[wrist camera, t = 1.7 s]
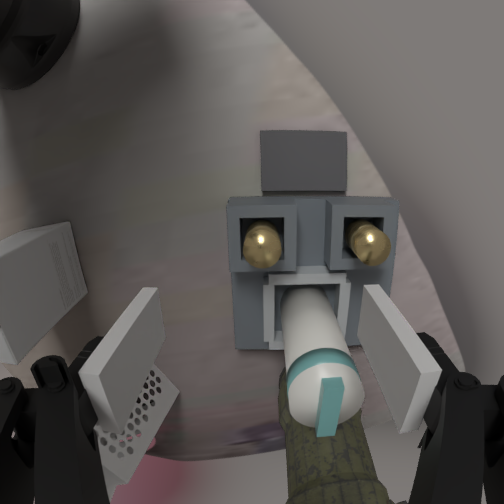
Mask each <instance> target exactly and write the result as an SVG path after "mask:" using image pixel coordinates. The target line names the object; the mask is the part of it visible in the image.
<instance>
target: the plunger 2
mask: <svg viewBox="0 0 504 504" xmlns="http://www.w3.org/2000/svg"><path fill="white" fill-rule="evenodd" d="M345 241H346V243H347V245H348V246H349V247H350V248H351V249H352V251H353V252H354V253H355V254H356V255H357V257H358V258H359V259H360V260H361V261H362V262H363V263H364V264H366V265H368V266H377V265H379V264H381V263H383V262H384V261H385V260H386V259H387V258H388V256H389V254H390V251H391V242H390V239H389V238H388V236H387V235H386V234H385V233H383V232H382V231H381V230H379V229H378V228H377V227H375V226H374V225H373V224H371V223H370V222H368V221H367V220H364V219H358V220H355V221H353V222H351V223H350V224H349V225H348V227H347V228H346V231H345Z"/></svg>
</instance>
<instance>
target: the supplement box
mask: <svg viewBox="0 0 504 504" xmlns="http://www.w3.org/2000/svg"><path fill="white" fill-rule="evenodd" d="M87 293H88V291H87V287H86V284H85V281H84V277H83V273H82V270H81V266H80V262H79V258H78V254H77V250H76V246H75V242H74V238H73V233H72V229H71V224H70V222H62V223H57V224H52V225H47V226H42V227H37V228H32V229H27V230H23V231H20V232H18V233H15V234H13V235H11V236H9V237H7V238H5V239H3V240H1V241H0V362H2V363H7V364H14V365H18V364H19V363H20V362H21V360H22V359H23V358H24V357H25V356H26V355H27V354H28V353H29V351H30V350H31V349H32V348H33V347H34V346H35V345H36V344H37V343H38V342H39V341H40V340H41V339H42V338H43V337H44V336H45V335H46V334H47V333H48V332H49V331H50V330H51V329H52V328H53V327H54V326H55V325H56V324H57V323H58V321H59V320H60V319H61V318H63V317H64V316H65V315H66V314H67V313H68V312H69V311H70V310H71V309H72V308H73V307H74V306H75V305H76V304H77V303H78V302H79V301H80V300H81V299H82V298H83V297H84V296H85V295H86V294H87Z"/></svg>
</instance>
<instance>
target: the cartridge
mask: <svg viewBox="0 0 504 504" xmlns="http://www.w3.org/2000/svg"><path fill="white" fill-rule="evenodd" d="M280 312H281V322H282V332H283V343H284V353H285V364H286V383H287V395H288V400H289V409H290V413H291V415H292V416H293V418H294V419H295V420H296V421H298V422H299V423H301V424H303V425H305V426H309V427H315V430H316V437H325V436H335V433H336V428H337V425H338V424H340V423H342V422H344V421H346V420H348V419H350V418H351V417H352V416H354V415H355V414H356V413H357V412H358V410H359V409H360V408H361V406H362V404H363V402H364V397H365V393H364V389H363V386H362V384H361V379H360V376H359V373H358V371H357V368H356V366H355V363H354V361H353V359H352V357H351V354H350V352H349V349H348V347H347V344H346V342H345V339H344V336H343V334H342V331H341V329H340V326H339V324H338V321H337V319H336V316H335V314H334V311H333V309H332V306H331V304H330V302H329V299H328V297H327V294H326V292H325V291H324V290H323V288H321V287H320V286H319V285H317V284H302V285H292V286H290V287H289V288H288V289H287V290H286V291H285V292H284V293H283V295H282V297H281V300H280Z"/></svg>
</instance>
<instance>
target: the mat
mask: <svg viewBox="0 0 504 504" xmlns="http://www.w3.org/2000/svg"><path fill="white" fill-rule="evenodd" d="M260 145H261V186H262V191H346V188H347V132H337V131H301V130H269V131H260Z"/></svg>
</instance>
